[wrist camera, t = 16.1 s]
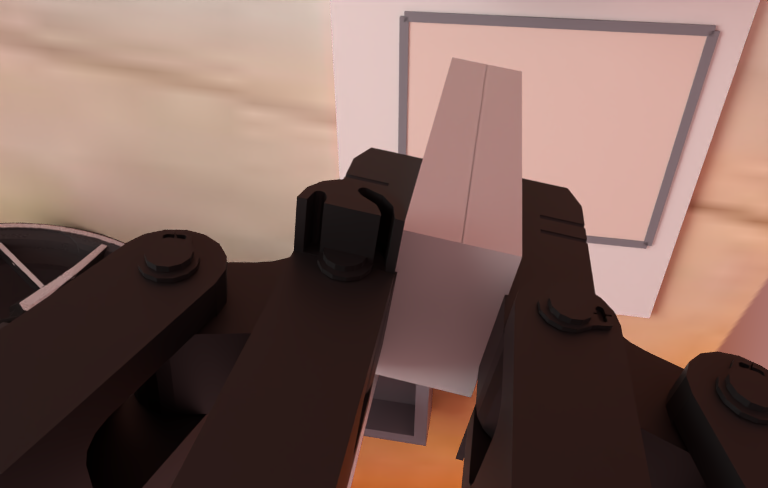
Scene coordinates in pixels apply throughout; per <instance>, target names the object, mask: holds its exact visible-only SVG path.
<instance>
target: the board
mask: <svg viewBox="0 0 768 488" xmlns="http://www.w3.org/2000/svg"><path fill="white" fill-rule="evenodd" d="M759 2H760V0H330V13H331V31H332V49H333V67H334V85H335V103H336V121H337V139H338V157H339V175H340V179H344V177H345V176H346V173H347V171H348V169H349V167H350V165H351V163H352V161H353V158H355V157H357V156H358V155H360V154H361V153H363V152H365V151H366V150H368V149H370V148H371V147H372V148H377V149H381V150H386V151H390V152H395V153H399V154H404V155H409V156H413V157H418V158H422V159H423V157H424V153H425V150H426V146H427V143H428V139H429V136H430V133H431V129H432V126H433V122H434V119H435V115H436V112H437V108H438V105H439V101H440V98H441V94H442V91H443V88H444V84H445V81H446V77H447V74H448V70H449V67H450V63H451V60H452V57H454V58H459V59H464V60H468V61H473V62H478V63H483V64H488V65H493V66H497V67H502V68H507V69H512V70H517V71H522V178H524V179H528V180H533V181H537V182H542V183H546V184H551V185H556V186H560V187H565V188H568V189H569V190H570V192H571V193H572V194H573V196H574V197H575V198H576V199H577V201H578V202H579V203H580V205H581V206H582V210H583V217H584V223H585V225H584V228H585V230H586V236H587V241H586V243H588V249H589V255H590V262H591V268H592V275H593V281H594V288H595V294H596V295H597V296H599V297H601V298H602V299H603V300H604V301H605V302H606V303H607V304H608V305H609V307H610V308H611V309H612V310H613V311H614V312H615V314H618V315H626V316H634V317H643V318H650V315H651V312H652V309H653V307H654V304H655V301H656V298H657V295H658V292H659V289H660V286H661V284H662V281H663V278H664V275H665V272H666V269H667V266H668V263H669V261H670V258H671V255H672V252H673V249H674V246H675V243H676V240H677V238H678V235H679V232H680V229H681V226H682V223H683V220H684V217H685V215H686V212H687V209H688V206H689V203H690V200H691V197H692V194H693V192H694V189H695V186H696V183H697V180H698V177H699V174H700V171H701V169H702V166H703V163H704V160H705V157H706V154H707V151H708V148H709V146H710V143H711V140H712V137H713V134H714V131H715V128H716V125H717V123H718V120H719V117H720V114H721V111H722V108H723V105H724V102H725V100H726V97H727V94H728V91H729V88H730V85H731V82H732V79H733V76H734V74H735V71H736V68H737V65H738V62H739V59H740V56H741V53H742V51H743V48H744V45H745V42H746V39H747V36H748V33H749V30H750V28H751V25H752V22H753V19H754V16H755V13H756V10H757V7H758V5H759Z"/></svg>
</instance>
